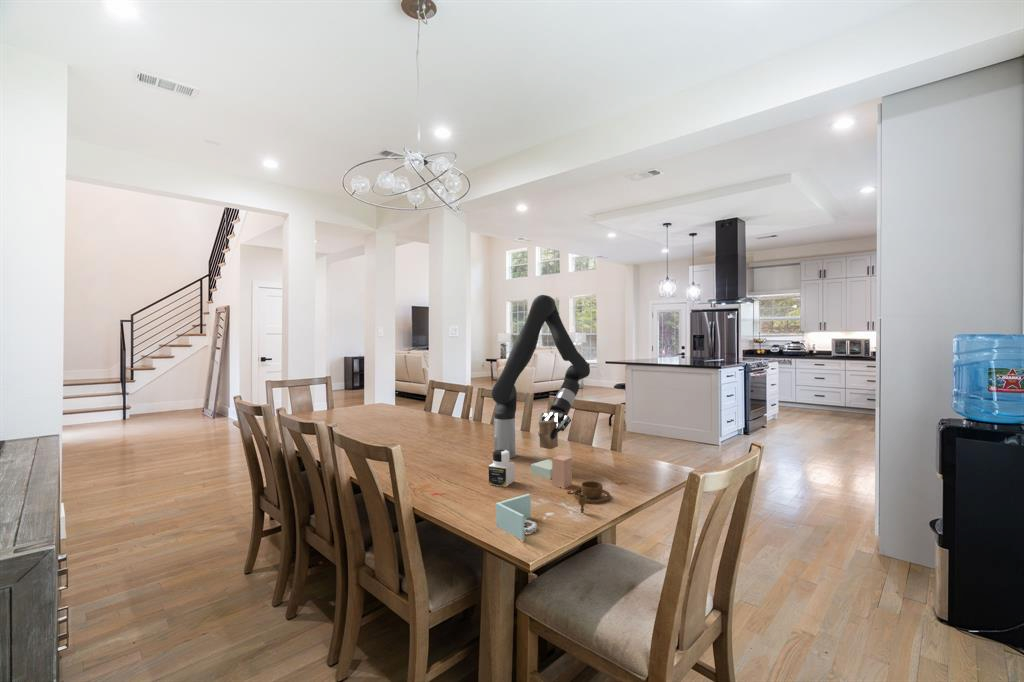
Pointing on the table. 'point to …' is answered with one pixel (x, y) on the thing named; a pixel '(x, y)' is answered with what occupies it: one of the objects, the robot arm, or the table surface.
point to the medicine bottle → (501, 469)
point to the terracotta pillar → (562, 471)
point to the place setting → (590, 493)
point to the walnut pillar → (547, 434)
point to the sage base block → (542, 468)
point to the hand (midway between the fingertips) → (545, 437)
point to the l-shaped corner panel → (515, 516)
